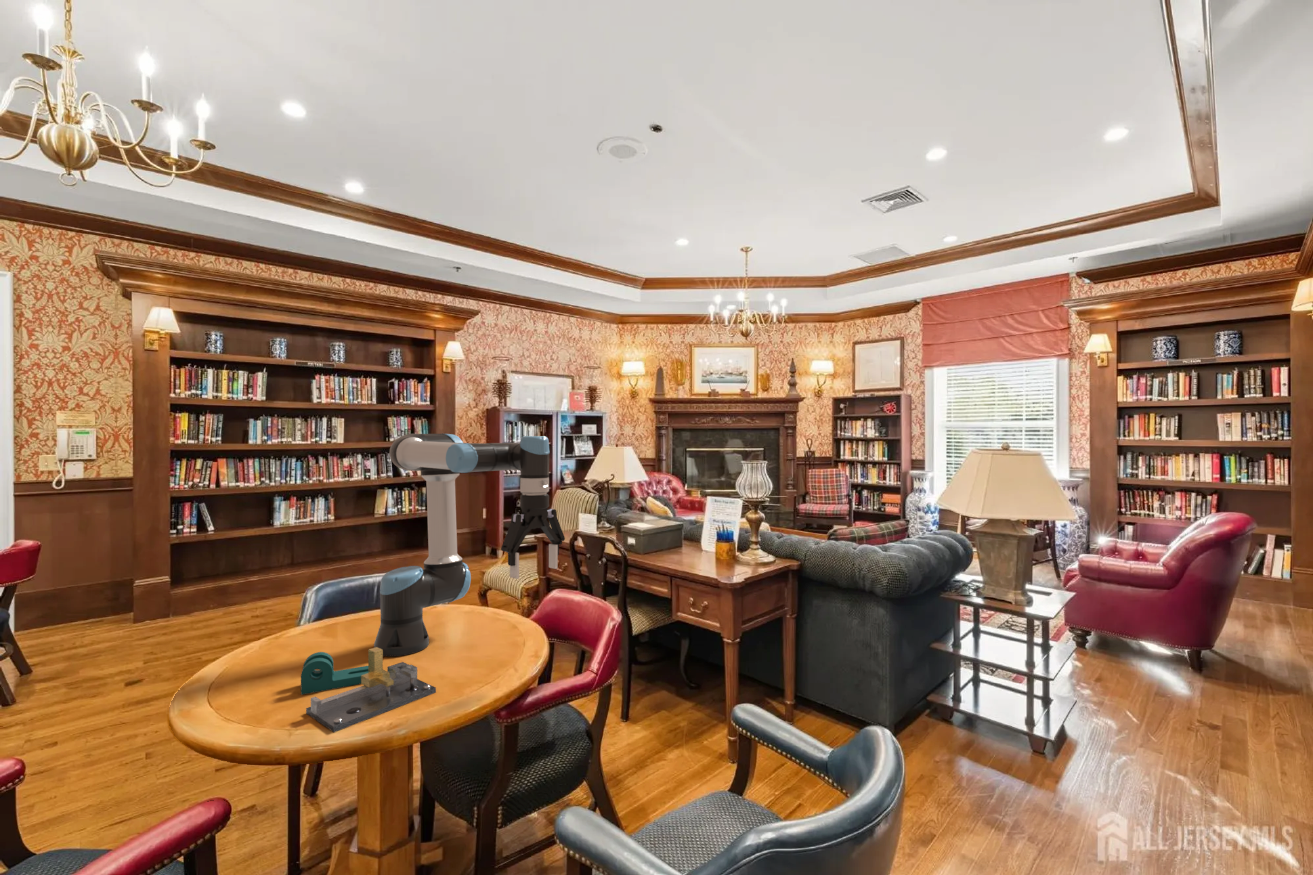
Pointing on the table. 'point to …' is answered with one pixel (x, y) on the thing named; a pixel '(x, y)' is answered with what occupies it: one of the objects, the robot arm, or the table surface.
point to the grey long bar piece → (366, 688)
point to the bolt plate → (372, 705)
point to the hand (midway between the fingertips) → (534, 572)
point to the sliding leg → (376, 671)
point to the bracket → (327, 674)
